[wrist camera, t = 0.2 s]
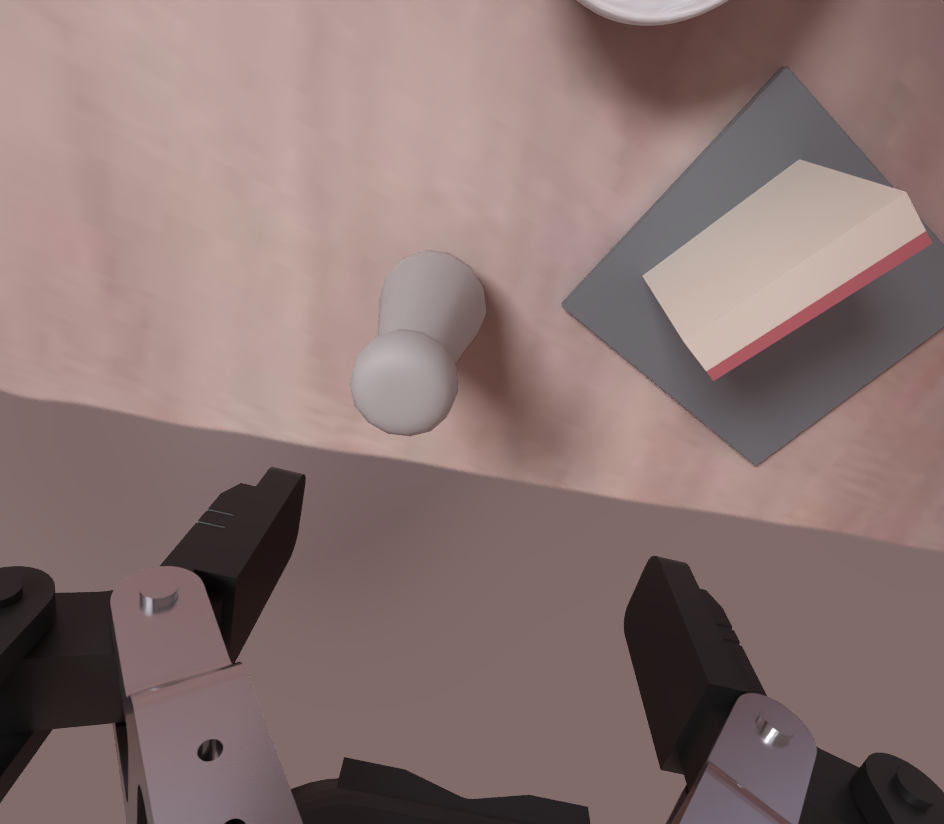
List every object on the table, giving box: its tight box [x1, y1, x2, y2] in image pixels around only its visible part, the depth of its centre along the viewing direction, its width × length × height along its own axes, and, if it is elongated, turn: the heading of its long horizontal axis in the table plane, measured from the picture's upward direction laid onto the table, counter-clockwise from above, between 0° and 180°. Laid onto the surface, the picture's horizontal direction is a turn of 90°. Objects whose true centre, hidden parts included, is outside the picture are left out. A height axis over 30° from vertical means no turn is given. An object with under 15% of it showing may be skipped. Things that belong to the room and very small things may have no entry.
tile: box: [642, 159, 932, 381], centre depth 27 cm, size 2×9×9 cm, turn 132°
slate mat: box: [562, 66, 944, 466], centre depth 32 cm, size 15×17×1 cm
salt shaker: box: [350, 250, 487, 436], centre depth 28 cm, size 6×6×13 cm
